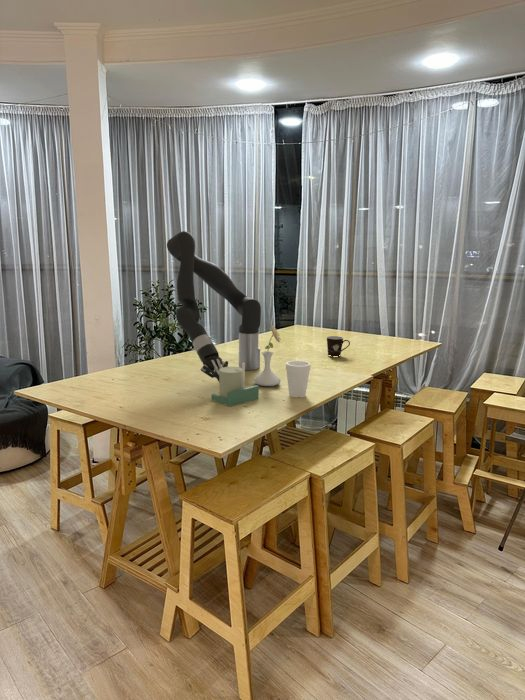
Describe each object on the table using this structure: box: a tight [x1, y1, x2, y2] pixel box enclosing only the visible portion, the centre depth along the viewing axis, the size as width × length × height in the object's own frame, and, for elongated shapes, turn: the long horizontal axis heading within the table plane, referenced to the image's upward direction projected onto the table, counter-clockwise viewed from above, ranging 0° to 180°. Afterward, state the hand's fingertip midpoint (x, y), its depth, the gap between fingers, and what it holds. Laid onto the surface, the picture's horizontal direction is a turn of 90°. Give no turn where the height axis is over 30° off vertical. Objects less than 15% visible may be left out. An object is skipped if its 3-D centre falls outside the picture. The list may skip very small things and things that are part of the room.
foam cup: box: [285, 360, 312, 398], centre depth 193 cm, size 10×9×13 cm
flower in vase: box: [253, 325, 282, 387], centre depth 207 cm, size 13×11×25 cm
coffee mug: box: [326, 335, 351, 356], centre depth 261 cm, size 12×9×10 cm
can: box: [218, 366, 242, 399], centre depth 189 cm, size 9×9×12 cm
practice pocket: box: [211, 363, 260, 407], centre depth 188 cm, size 11×14×15 cm
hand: (224, 384), depth 193 cm, fingers closed
